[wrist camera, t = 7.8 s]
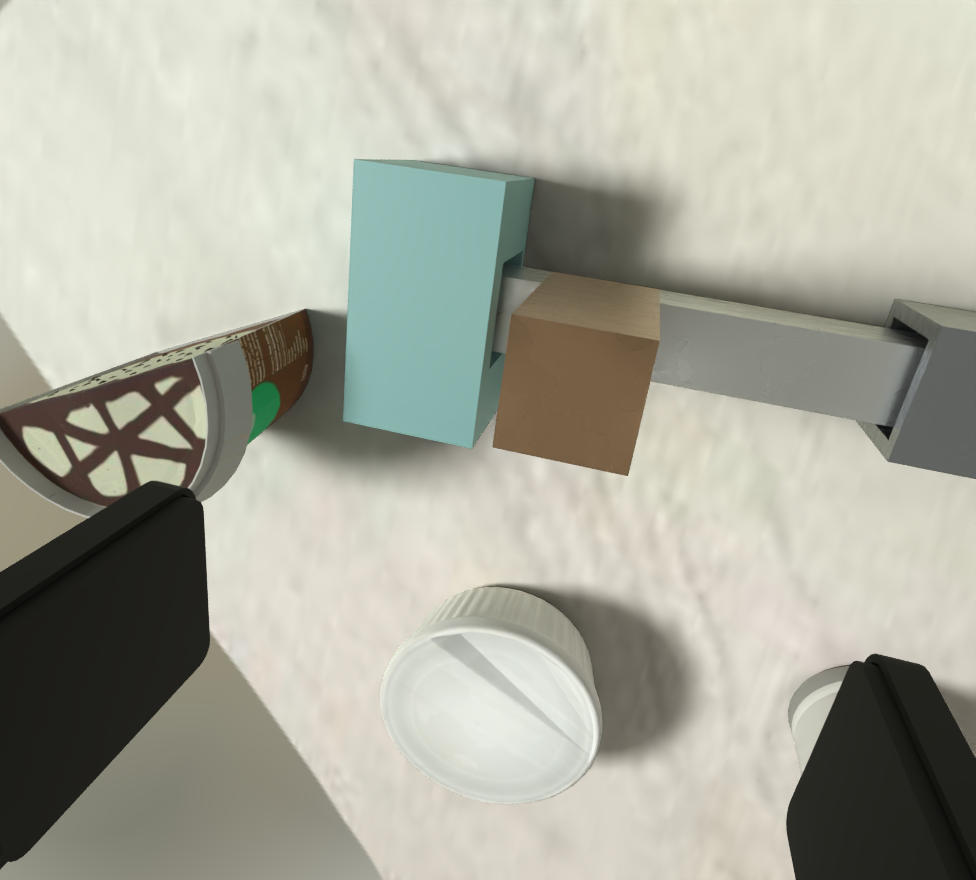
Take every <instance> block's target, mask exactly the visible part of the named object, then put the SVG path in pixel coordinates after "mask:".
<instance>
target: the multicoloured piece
mask: <svg viewBox="0 0 976 880" xmlns="http://www.w3.org/2000/svg"><path fill="white" fill-rule="evenodd" d="M928 341H929V339H927V338H926V337H924V336H923V335H921V334H920V333H915V332H909V331H903V330H897V329H891V328H885V327H879V326H873V325H867V324H861V323H855V322H849V321H843V320H837V319H831V318H825V317H819V316H813V315H807V314H801V313H795V312H789V311H783V310H777V309H771V308H765V307H760V306H754V305H748V304H742V303H736V302H730V301H724V300H718V299H712V298H706V297H700V296H694V295H688V294H682V293H676V292H670V291H664V290H659V289H654V288H648V287H642V286H636V285H630V284H624V283H618V282H612V281H606V280H600V279H594V278H589V277H583V276H577V275H571V274H565V273H559V272H551V271H545V270H539V269H533V268H527V267H521V266H515V265H509V264H503V268H502V276H501V283H500V291H499V299H498V306H497V314H496V321H495V329H494V336H493V344H492V351H494V352H499V353H505V354H506V355H505V362H504V369H503V376H502V383H501V390H500V397H499V405H498V412H497V419H496V426H495V433H494V440H493V447H494V448H499V449H503V450H508V451H513V452H517V453H522V454H527V455H531V456H536V457H541V458H545V459H550V460H555V461H560V462H564V463H569V464H574V465H578V466H583V467H588V468H592V469H597V470H602V471H606V472H611V473H616V474H621V475H625V476H628V474H629V469H630V465H631V461H632V457H633V452H634V448H635V444H636V440H637V435H638V431H639V427H640V423H641V418H642V414H643V410H644V406H645V401H646V397H647V393H648V389H649V384H650V381H652V382H658V383H663V384H668V385H673V386H679V387H684V388H689V389H694V390H700V391H705V392H710V393H716V394H721V395H726V396H731V397H737V398H742V399H747V400H752V401H758V402H763V403H768V404H774V405H779V406H784V407H789V408H795V409H800V410H805V411H810V412H816V413H821V414H826V415H832V416H837V417H842V418H847V419H853V420H858V421H863V422H869V423H874V424H879V425H884V426H890V427H894V425H895V423H896V420H897V418H898V415H899V413H900V410H901V408H902V405H903V403H904V400H905V398H906V395H907V393H908V391H909V388H910V386H911V383H912V381H913V378H914V376H915V373H916V371H917V368H918V366H919V363H920V361H921V358H922V356H923V353H924V351H925V348H926V346H927V343H928Z"/></svg>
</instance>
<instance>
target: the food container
mask: <svg viewBox="0 0 976 880" xmlns="http://www.w3.org/2000/svg"><path fill="white" fill-rule="evenodd" d="M312 363H313V337H312V331H311V325H310V322H309V319H308V315H307V312H306V309H303V310H299V311H296V312H293V313H289V314H286V315H282V316H279V317H275V318H272V319H268V320H265V321H262V322H258V323H255V324H251V325H248V326H244V327H241V328H237V329H234V330H231V331H227V332H224V333H220V334H217V335H213V336H210V337H207V338H203V339H200V340H196V341H193V342H189V343H186V344H182V345H179V346H176V347H172V348H169V349H165V350H162V351H158V352H155V353H152V354H150V355H147V356H144V357H141V358H139V359H136V360H133V361H130V362H128V363H125V364H122V365H120V366H117V367H114V368H111V369H109V370H106V371H103V372H100V373H98V374H95V375H92V376H89V377H87V378H84V379H81V380H79V381H76V382H73V383H70V384H68V385H65V386H62V387H59V388H57V389H54V390H51V391H48V392H46V393H43V394H40V395H37V396H35V397H32V398H29V399H27V400H24V401H21V402H19V403H16V404H13V405H10V406H5V407H2V408H0V462H1V463H2V464H3V465H4V466H5V467H6V468H7V469H8V470H9V471H10V472H11V473H12V474H13V475H14V476H15V477H16V478H17V479H19V480H20V481H21V482H22V483H23V484H25V485H26V486H27V487H28V488H29V489H31V490H32V491H34V492H35V493H37V494H38V495H40V496H41V497H43V498H44V499H45V500H47V501H49V502H51V503H53V504H55V505H57V506H58V507H60V508H62V509H64V510H66V511H69V512H72V513H75V514H77V515H80V516H82V517H86V518H89V517H91V516H93V515H94V514H96V513H98V512H99V511H101V510H102V509H104V508H106V507H107V506H109V505H111V504H112V503H114V502H115V501H117V500H119V499H120V498H122V497H124V496H125V495H127V494H129V493H130V492H132V491H133V490H135V489H137V488H138V487H140V486H142V485H143V484H145V483H147V482H149V481H161V482H165V483H169V484H173V485H177V486H181V487H185V488H189V489H190V490H192V491H193V493H194V495H195V497H196V500H198V501H199V502H202V501H204V500H206V499H208V498H210V497H211V496H212V495H214V494H215V493H216V492H217V491H218V490H220V489H221V488H222V487H223V486H224V485H225V484H226V483H227V481H228V480H229V479H230V478H231V476H232V475H233V474H234V473H235V471H236V470H237V468H238V466H239V464H240V462H241V460H242V458H243V456H244V454H245V450H246V447H247V445H248V444H249V443H250V442H251V441H252V440H254V439H255V438H256V437H257V436H258V435H259V434H260V433H262V432H263V431H264V430H265V429H266V428H267V427H269V426H270V425H271V424H272V423H273V422H274V421H276V420H277V419H278V418H279V417H280V416H281V415H283V414H284V413H285V412H286V411H287V410H288V409H289V408H291V407H292V406H293V405H294V404H295V403H296V401H297V400H298V399H299V398H300V396H301V395H302V393H303V391H304V389H305V387H306V385H307V383H308V381H309V377H310V374H311V370H312Z"/></svg>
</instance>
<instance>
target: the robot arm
mask: <svg viewBox="0 0 976 880" xmlns="http://www.w3.org/2000/svg"><path fill="white" fill-rule="evenodd" d="M209 645H210V632H209V612H208V591H207V571H206V550H205V530H204V511H203V506H202V504H201V502H199V501H198V500H196V497H195V495H194V493H193V491H192V490H190V489H189V488H185V487H181V486H177V485H173V484H169V483H165V482H161V481H149V482H147V483H145V484H143V485H142V486H140V487H138V488H137V489H135V490H133V491H132V492H130V493H129V494H127V495H125V496H124V497H122V498H120V499H119V500H117V501H115V502H114V503H112V504H111V505H109V506H107V507H106V508H104V509H102V510H101V511H99V512H98V513H96V514H94V515H93V516H91V517H89V518H88V519H86V520H85V521H83V522H81V523H80V524H78V525H76V526H75V527H73V528H72V529H70V530H68V531H67V532H65V533H63V534H62V535H60V536H59V537H57V538H55V539H54V540H52V541H50V542H49V543H47V544H46V545H44V546H42V547H41V548H39V549H37V550H36V551H34V552H33V553H31V554H29V555H28V556H26V557H24V558H23V559H21V560H19V561H18V562H16V563H15V564H13V565H11V566H10V567H8V568H6V569H5V570H3V571H1V572H0V869H1V868H2V867H3V866H4V865H5V864H6V863H7V862H8V861H9V862H12V861H16V860H18V859H19V858H21V857H23V856H24V855H25V854H26V853H27V852H28V851H29V850H30V849H31V848H32V847H33V846H34V845H35V844H36V843H37V842H38V840H40V838H41V837H42V836H43V835H44V834H45V833H46V832H47V831H48V830H49V829H50V828H51V826H52V825H53V824H54V823H55V822H56V821H57V820H58V819H59V818H60V817H61V816H62V815H63V814H64V812H65V811H66V810H67V809H68V808H69V807H70V806H71V805H72V804H73V803H74V802H75V801H76V799H77V798H78V797H79V796H80V795H81V794H82V793H83V792H84V791H85V790H86V788H87V787H88V786H89V785H90V784H91V783H92V782H93V781H94V780H95V779H96V778H97V777H98V776H99V774H100V773H101V772H102V771H103V770H104V769H105V768H106V767H107V766H108V765H109V764H110V762H111V761H112V760H113V759H114V758H115V757H116V756H117V755H118V754H119V753H120V752H121V751H122V749H123V748H124V747H125V746H126V745H127V744H128V743H129V742H130V741H131V740H132V739H133V738H134V737H135V735H136V734H137V733H138V732H139V731H140V730H141V729H142V728H143V727H144V726H145V725H146V724H147V722H148V721H149V720H150V719H151V718H152V717H153V716H154V715H155V714H156V713H157V712H158V710H159V709H160V708H161V707H162V706H163V705H164V704H165V703H166V702H167V701H168V699H169V698H170V697H171V696H172V695H173V694H174V693H175V692H176V691H177V690H178V689H179V688H180V687H181V686H182V684H183V683H184V682H185V681H186V680H187V679H188V678H189V677H190V676H191V675H192V674H193V673H194V671H195V670H196V669H197V668H198V667H199V666H200V665H201V663H202V662H203V660H204V658H205V657H206V654H207V652H208V649H209ZM786 825H787V836H788V841H789V847H790V852H791V857H792V862H793V867H794V873H795V878H796V880H976V758H975V757H974V755H973V753H972V751H971V749H970V747H969V745H968V744H967V742H966V740H965V738H964V736H963V734H962V732H961V731H960V729H959V727H958V725H957V723H956V721H955V719H954V717H953V716H952V714H951V712H950V710H949V708H948V706H947V704H946V703H945V701H944V699H943V697H942V695H941V693H940V691H939V690H938V688H937V686H936V684H935V682H934V680H933V678H932V676H931V675H930V673H929V671H928V670H927V669H926V668H925V667H924V666H922V665H920V664H916V663H912V662H908V661H904V660H900V659H896V658H891V657H887V656H883V655H879V654H872V655H870V656H869V657H868V658H867V659H866V661H865V662H860V661H854V662H853V663H852V664H851V665H850V666H849V668H848V670H847V672H846V675H845V677H844V679H843V681H842V684H841V686H840V688H839V691H838V693H837V695H836V698H835V700H834V702H833V704H832V707H831V709H830V711H829V714H828V716H827V718H826V721H825V723H824V725H823V727H822V730H821V732H820V734H819V737H818V739H817V741H816V743H815V746H814V748H813V750H812V753H811V755H810V757H809V760H808V762H807V764H806V766H805V769H804V771H803V773H802V776H801V778H800V780H799V783H798V785H797V787H796V789H795V792H794V794H793V796H792V799H791V801H790V804H789V807H788V812H787V821H786Z"/></svg>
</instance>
